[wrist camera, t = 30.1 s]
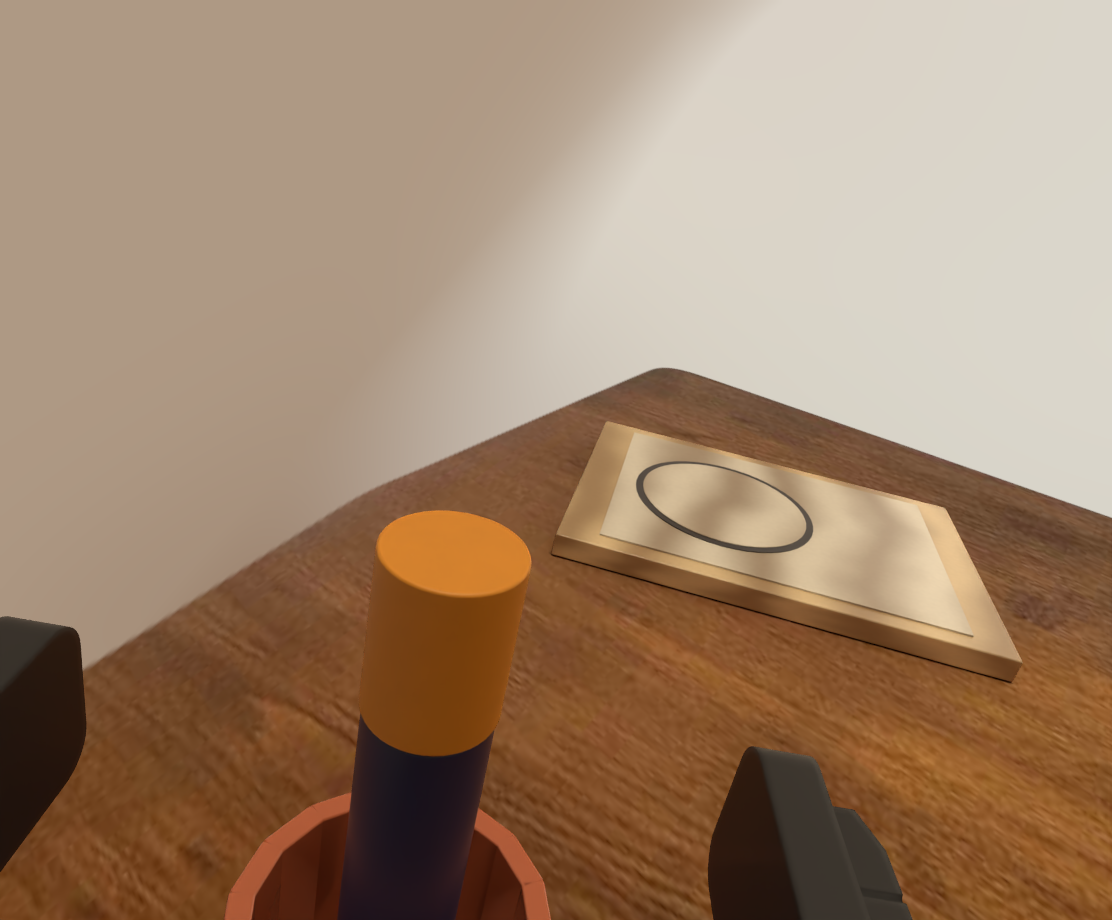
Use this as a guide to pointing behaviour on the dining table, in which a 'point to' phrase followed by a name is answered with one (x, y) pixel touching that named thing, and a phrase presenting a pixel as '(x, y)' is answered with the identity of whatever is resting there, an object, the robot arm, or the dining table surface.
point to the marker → (428, 709)
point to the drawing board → (785, 547)
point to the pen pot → (317, 864)
